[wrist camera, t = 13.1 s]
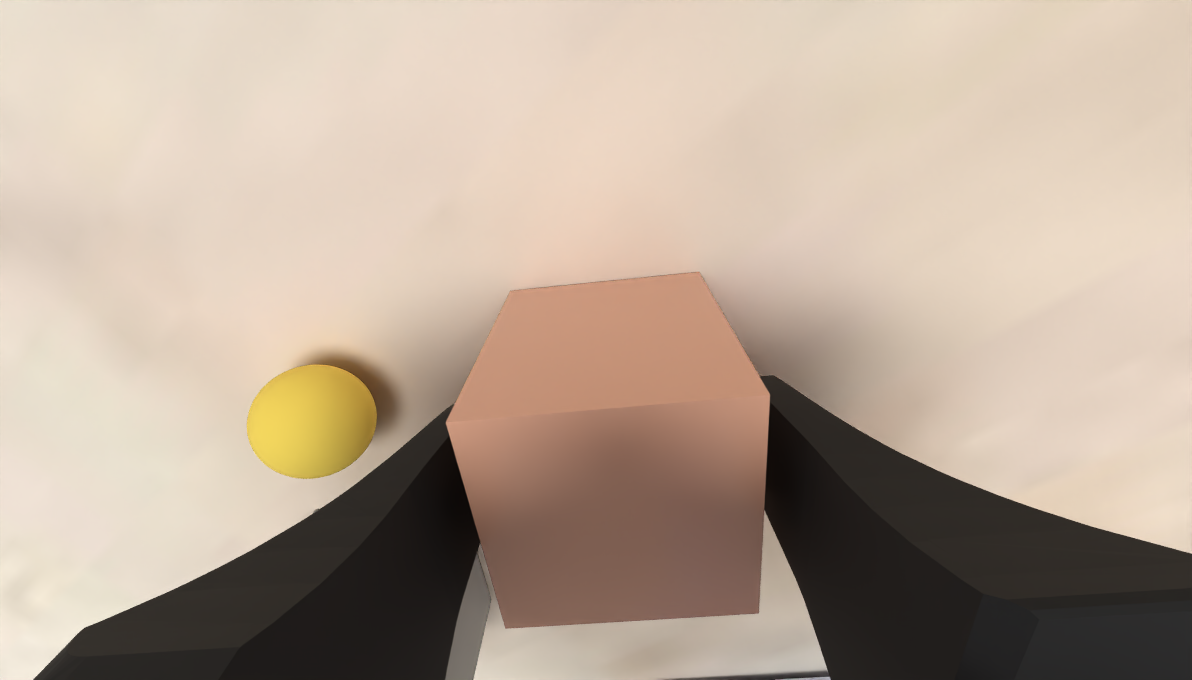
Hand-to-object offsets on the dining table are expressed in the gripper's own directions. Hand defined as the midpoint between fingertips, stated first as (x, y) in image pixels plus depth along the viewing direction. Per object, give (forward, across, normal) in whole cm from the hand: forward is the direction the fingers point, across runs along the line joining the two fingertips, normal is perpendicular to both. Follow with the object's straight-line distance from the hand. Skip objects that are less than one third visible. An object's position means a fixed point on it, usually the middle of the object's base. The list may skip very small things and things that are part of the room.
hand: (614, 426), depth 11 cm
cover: (+3, 0, 0) cm, 3 cm away
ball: (+3, +8, 0) cm, 9 cm away
